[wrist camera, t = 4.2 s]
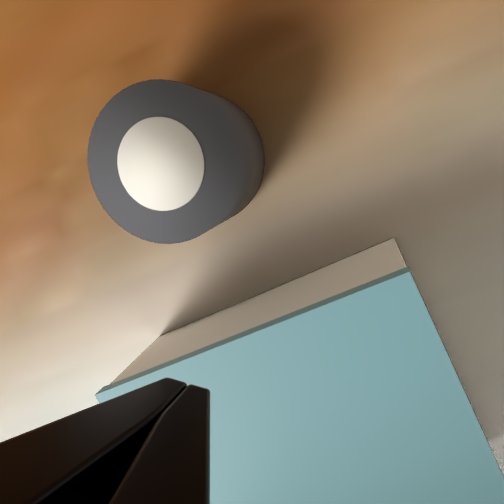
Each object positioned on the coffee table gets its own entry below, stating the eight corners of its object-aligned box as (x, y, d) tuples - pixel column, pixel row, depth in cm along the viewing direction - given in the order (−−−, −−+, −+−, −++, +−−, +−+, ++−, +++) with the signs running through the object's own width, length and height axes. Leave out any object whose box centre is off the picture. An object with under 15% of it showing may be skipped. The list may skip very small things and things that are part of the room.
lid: (532, 540, 15) (539, 556, 15) (221, 601, 19) (217, 615, 18) (407, 266, 14) (409, 271, 14) (103, 386, 18) (94, 395, 17)
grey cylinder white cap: (286, 190, 20) (266, 203, 15) (178, 242, 21) (133, 268, 17) (228, 68, 19) (190, 46, 15) (121, 131, 21) (59, 128, 17)
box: (487, 442, 20) (526, 533, 16) (248, 506, 24) (221, 596, 19) (393, 237, 19) (405, 268, 14) (158, 336, 23) (106, 387, 18)
